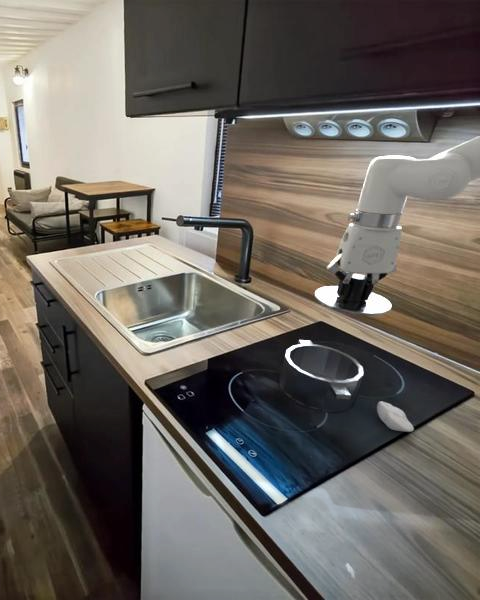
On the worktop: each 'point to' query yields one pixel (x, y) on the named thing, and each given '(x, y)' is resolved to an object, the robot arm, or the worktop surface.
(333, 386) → the pot
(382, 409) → the dumpling
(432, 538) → the worktop surface
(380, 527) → the worktop surface
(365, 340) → the worktop surface
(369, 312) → the lid
